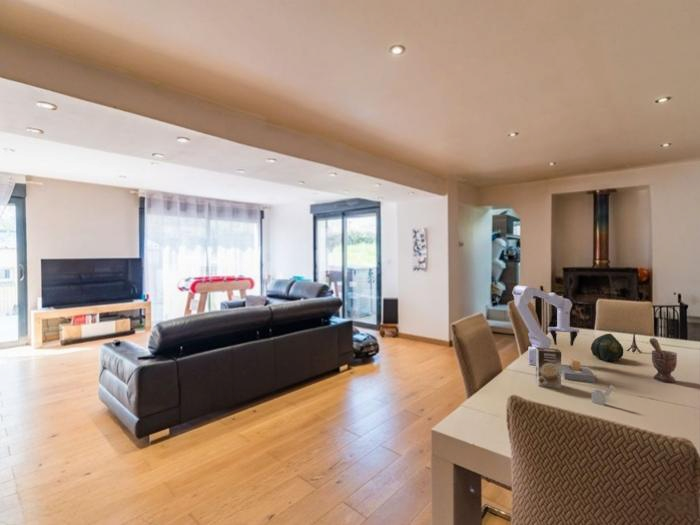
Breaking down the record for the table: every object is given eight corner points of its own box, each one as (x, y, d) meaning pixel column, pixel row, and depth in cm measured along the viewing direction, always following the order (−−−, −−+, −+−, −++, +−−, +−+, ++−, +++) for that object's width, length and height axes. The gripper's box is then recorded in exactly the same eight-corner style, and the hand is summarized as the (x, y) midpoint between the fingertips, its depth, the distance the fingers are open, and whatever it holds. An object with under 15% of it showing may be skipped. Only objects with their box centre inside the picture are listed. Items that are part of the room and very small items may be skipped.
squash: (589, 351, 189) (610, 332, 186) (582, 345, 203) (602, 327, 199) (612, 370, 185) (635, 351, 181) (604, 363, 199) (625, 345, 195)
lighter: (591, 402, 136) (591, 382, 136) (592, 400, 138) (592, 380, 137) (613, 407, 131) (613, 386, 131) (614, 406, 132) (614, 385, 132)
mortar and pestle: (671, 386, 152) (671, 341, 151) (646, 380, 159) (646, 337, 159) (679, 381, 158) (679, 337, 158) (655, 375, 165) (655, 334, 165)
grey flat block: (564, 379, 162) (564, 372, 162) (559, 370, 175) (559, 363, 175) (595, 382, 157) (595, 375, 157) (587, 373, 170) (587, 366, 170)
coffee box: (538, 386, 153) (537, 350, 153) (535, 381, 159) (535, 347, 159) (561, 388, 150) (561, 352, 150) (558, 383, 156) (557, 348, 156)
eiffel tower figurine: (652, 353, 204) (652, 331, 204) (650, 356, 197) (650, 333, 197) (620, 348, 215) (620, 327, 215) (617, 351, 208) (617, 330, 208)
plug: (572, 373, 167) (572, 361, 167) (571, 370, 170) (571, 358, 170) (580, 374, 165) (580, 361, 165) (578, 371, 169) (578, 359, 169)
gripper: (549, 320, 186) (549, 345, 186) (581, 322, 181) (581, 347, 181) (547, 318, 193) (547, 342, 193) (577, 319, 188) (577, 344, 188)
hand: (563, 345), depth 188 cm, fingers open, 7 cm apart
